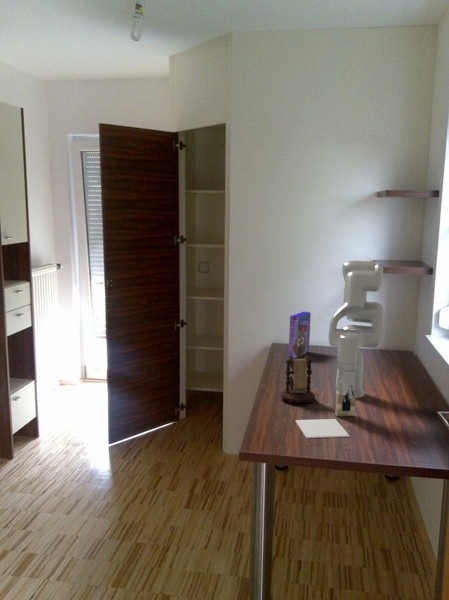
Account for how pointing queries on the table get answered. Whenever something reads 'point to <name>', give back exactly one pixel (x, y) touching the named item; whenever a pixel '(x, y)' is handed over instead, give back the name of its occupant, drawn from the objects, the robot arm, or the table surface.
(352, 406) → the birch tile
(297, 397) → the brown wooden ornament
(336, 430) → the rubber mat
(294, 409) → the table surface
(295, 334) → the cereal box
